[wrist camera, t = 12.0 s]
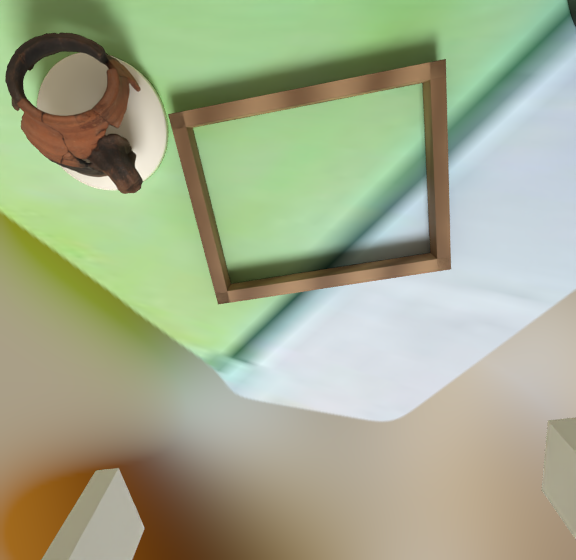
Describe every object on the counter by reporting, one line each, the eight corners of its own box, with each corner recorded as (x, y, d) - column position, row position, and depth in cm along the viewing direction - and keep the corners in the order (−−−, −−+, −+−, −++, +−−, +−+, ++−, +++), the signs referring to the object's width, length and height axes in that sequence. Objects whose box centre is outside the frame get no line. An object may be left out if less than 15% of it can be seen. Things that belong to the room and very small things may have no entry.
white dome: (147, 42, 31) (142, 38, 30) (183, 177, 35) (179, 178, 34) (23, 68, 32) (15, 66, 31) (71, 198, 36) (65, 199, 35)
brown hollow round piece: (25, 131, 33) (-42, 65, 25) (113, 73, 35) (78, -5, 27) (114, 232, 33) (76, 199, 25) (198, 169, 35) (188, 120, 27)
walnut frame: (436, 63, 31) (445, 59, 29) (443, 262, 37) (450, 269, 35) (175, 115, 33) (168, 114, 31) (222, 296, 39) (218, 304, 37)
